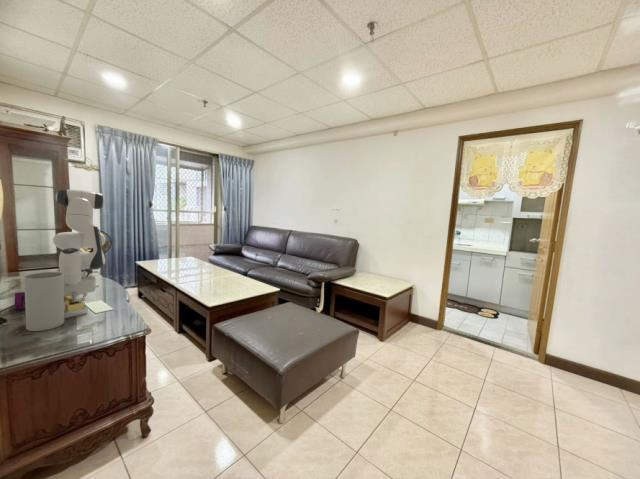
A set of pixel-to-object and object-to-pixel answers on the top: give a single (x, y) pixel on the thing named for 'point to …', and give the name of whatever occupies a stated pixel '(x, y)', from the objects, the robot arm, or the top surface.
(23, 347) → the top surface
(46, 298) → the cylinder vase
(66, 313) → the toggle switch block
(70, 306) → the brass hook
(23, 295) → the mounting bracket
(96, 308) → the sage mat
